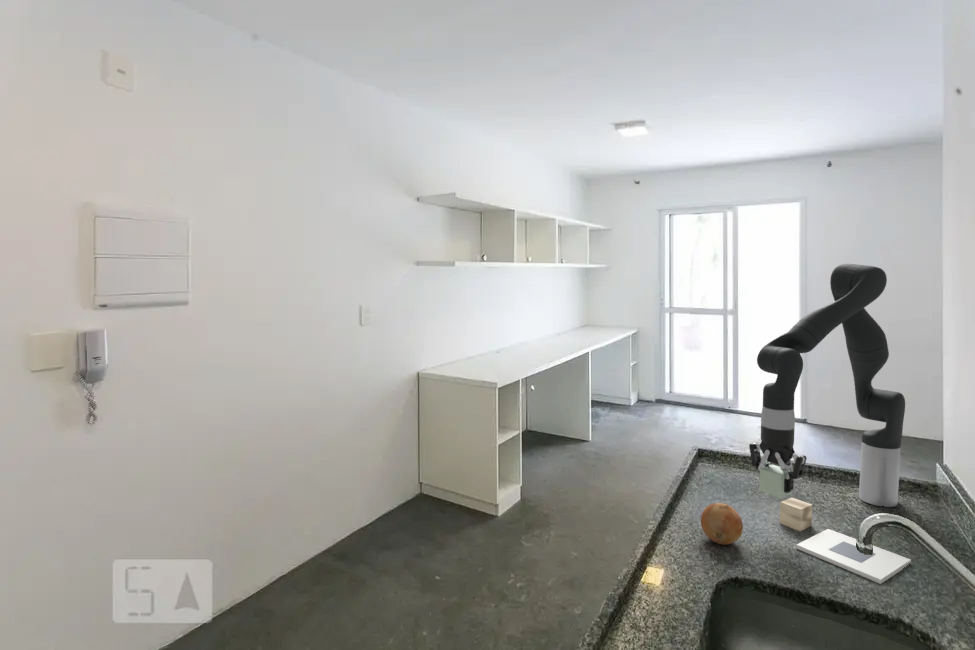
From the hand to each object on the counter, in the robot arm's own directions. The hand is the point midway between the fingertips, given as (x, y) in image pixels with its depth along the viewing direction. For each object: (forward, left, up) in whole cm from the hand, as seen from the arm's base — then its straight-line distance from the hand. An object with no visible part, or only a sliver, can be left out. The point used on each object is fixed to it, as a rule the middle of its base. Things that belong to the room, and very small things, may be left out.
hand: (775, 487), depth 137 cm
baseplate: (-5, +16, -12) cm, 21 cm away
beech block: (-10, 0, -12) cm, 16 cm away
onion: (+15, -5, -13) cm, 20 cm away
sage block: (0, 0, -1) cm, 1 cm away
